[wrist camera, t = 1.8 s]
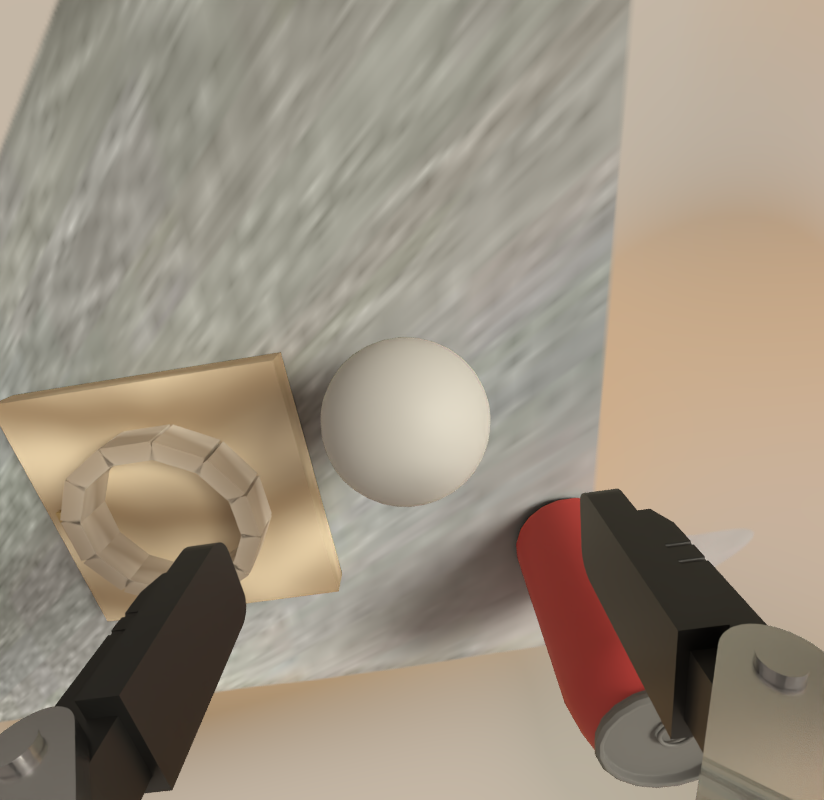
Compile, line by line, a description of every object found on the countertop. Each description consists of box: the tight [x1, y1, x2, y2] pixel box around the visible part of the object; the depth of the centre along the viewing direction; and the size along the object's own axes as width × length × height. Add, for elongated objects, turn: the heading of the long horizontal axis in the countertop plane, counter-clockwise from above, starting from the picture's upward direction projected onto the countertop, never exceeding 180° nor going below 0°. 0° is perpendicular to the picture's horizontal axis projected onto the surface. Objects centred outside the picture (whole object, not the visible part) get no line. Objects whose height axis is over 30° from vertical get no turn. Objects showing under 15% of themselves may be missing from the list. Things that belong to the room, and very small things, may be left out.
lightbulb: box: [321, 337, 490, 507], centre depth 19 cm, size 6×6×11 cm
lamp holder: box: [0, 352, 342, 621], centre depth 25 cm, size 15×15×4 cm
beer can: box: [516, 498, 703, 788], centre depth 22 cm, size 7×7×12 cm
